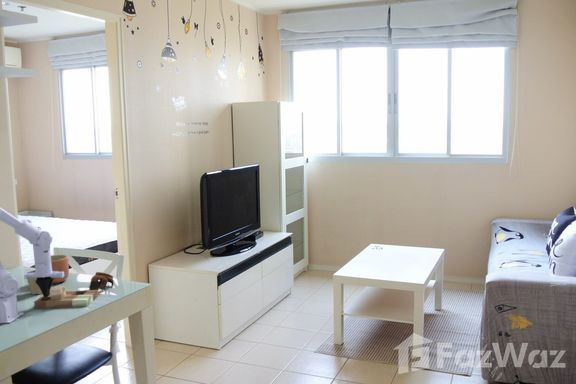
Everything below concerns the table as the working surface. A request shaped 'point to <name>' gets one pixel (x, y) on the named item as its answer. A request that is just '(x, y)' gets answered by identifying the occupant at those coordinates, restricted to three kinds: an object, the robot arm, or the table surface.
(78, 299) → the board
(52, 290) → the birch block
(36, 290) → the flower pot
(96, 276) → the pottery mug
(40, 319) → the table surface
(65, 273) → the planter
